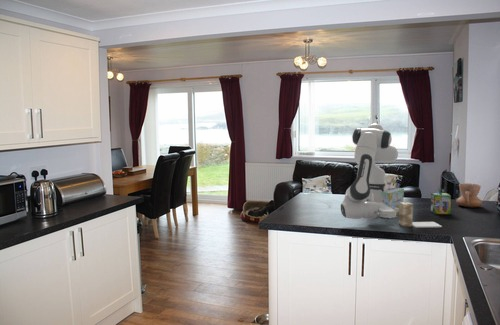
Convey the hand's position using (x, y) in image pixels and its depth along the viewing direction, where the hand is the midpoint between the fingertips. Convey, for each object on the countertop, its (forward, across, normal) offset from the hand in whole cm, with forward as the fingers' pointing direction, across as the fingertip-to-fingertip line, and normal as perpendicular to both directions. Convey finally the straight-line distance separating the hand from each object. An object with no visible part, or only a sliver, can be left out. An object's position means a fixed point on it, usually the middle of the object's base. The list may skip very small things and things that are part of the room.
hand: (398, 209), depth 212 cm
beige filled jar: (+4, 0, +8) cm, 9 cm away
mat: (+15, 0, +8) cm, 17 cm away
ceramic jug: (+63, +43, +9) cm, 77 cm away
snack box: (+6, +23, +9) cm, 26 cm away
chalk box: (+37, +28, +9) cm, 47 cm away
